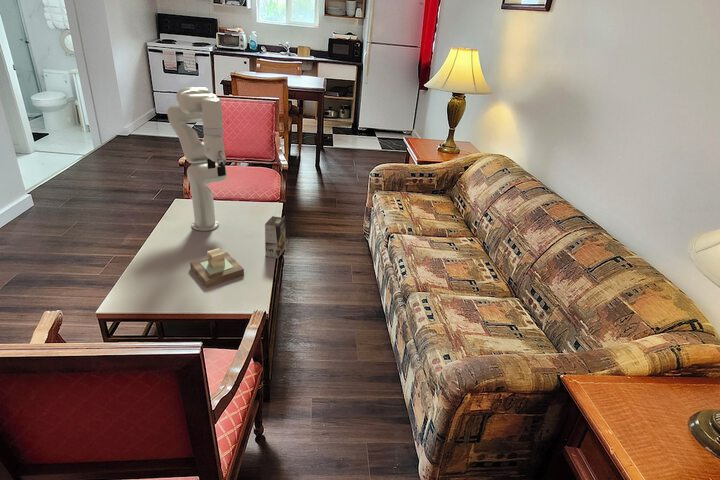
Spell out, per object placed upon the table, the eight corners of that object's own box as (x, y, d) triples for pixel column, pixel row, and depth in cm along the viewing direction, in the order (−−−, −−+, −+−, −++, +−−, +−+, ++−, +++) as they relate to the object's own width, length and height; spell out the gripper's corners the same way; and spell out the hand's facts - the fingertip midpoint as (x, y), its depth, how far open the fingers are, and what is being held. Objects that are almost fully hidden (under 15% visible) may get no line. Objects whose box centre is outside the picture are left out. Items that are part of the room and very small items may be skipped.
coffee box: (278, 258, 190) (278, 226, 182) (264, 256, 191) (264, 224, 183) (285, 248, 198) (285, 217, 190) (272, 246, 199) (272, 215, 191)
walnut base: (190, 268, 178) (189, 261, 176) (227, 257, 187) (226, 251, 186) (206, 287, 167) (205, 280, 166) (244, 275, 177) (243, 268, 175)
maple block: (208, 263, 176) (207, 251, 173) (219, 260, 179) (218, 248, 176) (213, 269, 173) (212, 256, 170) (225, 265, 176) (224, 253, 173)
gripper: (195, 126, 172) (199, 166, 180) (213, 137, 160) (216, 180, 169) (213, 124, 176) (216, 164, 184) (232, 135, 165) (234, 177, 173)
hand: (216, 171), depth 177 cm, fingers open, 9 cm apart
